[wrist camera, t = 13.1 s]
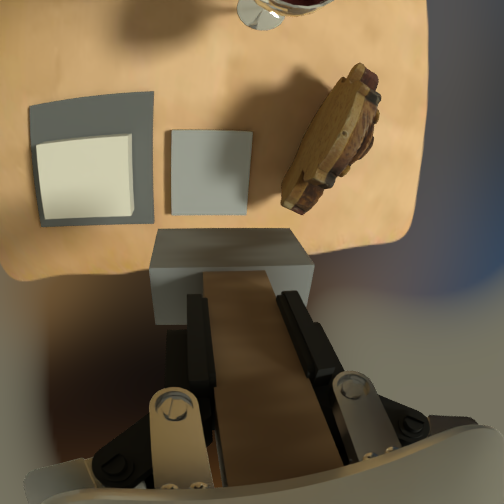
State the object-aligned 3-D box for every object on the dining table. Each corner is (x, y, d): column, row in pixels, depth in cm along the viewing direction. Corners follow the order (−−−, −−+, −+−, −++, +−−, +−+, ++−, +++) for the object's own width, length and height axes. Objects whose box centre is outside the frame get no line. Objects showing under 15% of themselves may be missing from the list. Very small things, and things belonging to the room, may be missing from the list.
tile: (127, 135, 26) (130, 216, 29) (132, 133, 28) (134, 208, 31) (36, 145, 24) (45, 219, 28) (45, 141, 26) (53, 211, 30)
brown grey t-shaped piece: (289, 228, 17) (457, 501, 4) (283, 275, 18) (401, 533, 5) (158, 228, 16) (123, 575, 3) (161, 278, 17) (154, 579, 4)
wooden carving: (304, 205, 35) (339, 244, 27) (267, 192, 34) (294, 230, 25) (360, 77, 29) (415, 77, 20) (326, 57, 28) (374, 48, 19)
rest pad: (251, 131, 30) (252, 132, 30) (245, 212, 34) (246, 215, 34) (172, 129, 29) (171, 130, 28) (172, 212, 33) (171, 215, 32)
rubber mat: (154, 91, 27) (153, 91, 26) (154, 221, 33) (153, 223, 33) (32, 105, 24) (29, 106, 23) (43, 224, 30) (41, 227, 30)
